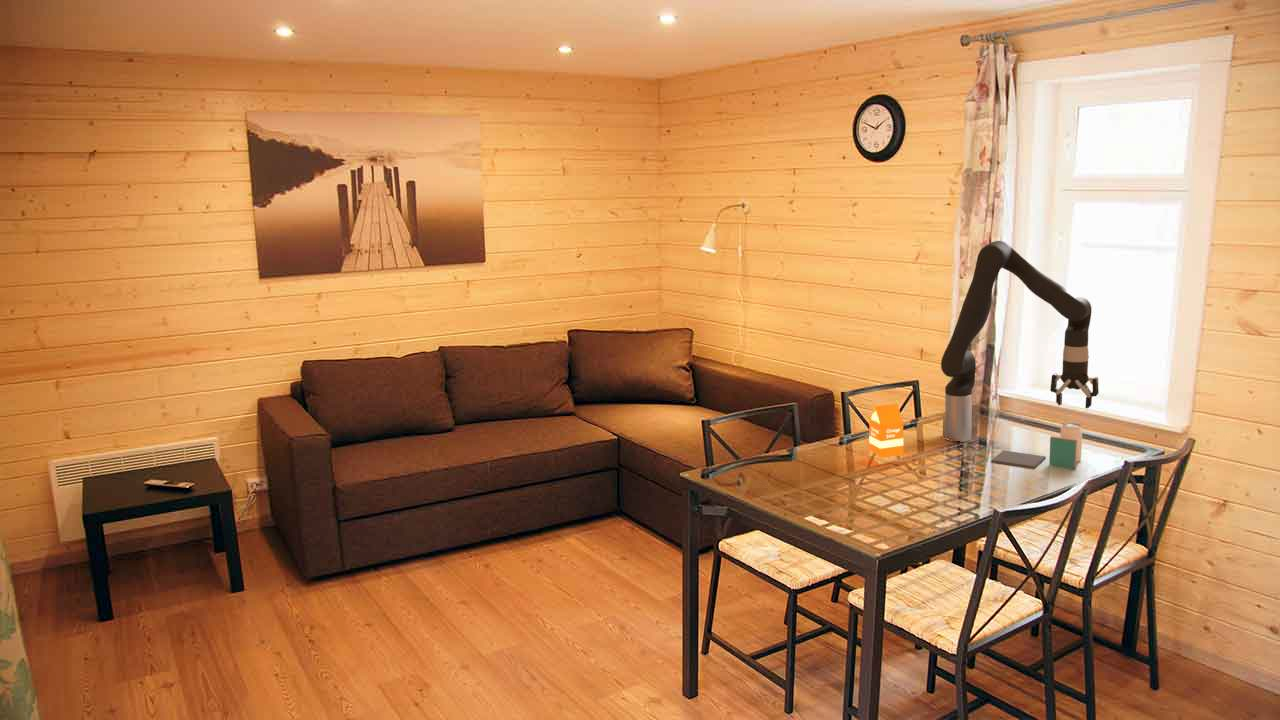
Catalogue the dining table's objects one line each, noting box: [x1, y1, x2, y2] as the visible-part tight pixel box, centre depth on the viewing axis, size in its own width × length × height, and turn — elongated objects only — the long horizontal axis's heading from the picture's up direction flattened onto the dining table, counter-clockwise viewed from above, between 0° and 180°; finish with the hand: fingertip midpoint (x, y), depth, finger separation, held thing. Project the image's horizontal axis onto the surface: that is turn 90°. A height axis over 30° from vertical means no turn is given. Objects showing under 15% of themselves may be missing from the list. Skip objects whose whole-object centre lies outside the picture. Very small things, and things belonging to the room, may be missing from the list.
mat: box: [991, 450, 1047, 470], centre depth 306 cm, size 14×12×1 cm
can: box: [1060, 422, 1083, 463], centre depth 302 cm, size 6×6×12 cm
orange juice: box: [868, 403, 904, 458], centre depth 312 cm, size 8×9×20 cm
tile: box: [1048, 435, 1077, 470], centre depth 296 cm, size 8×1×10 cm, turn 50°
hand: (1073, 406), depth 300 cm, fingers open, 8 cm apart
